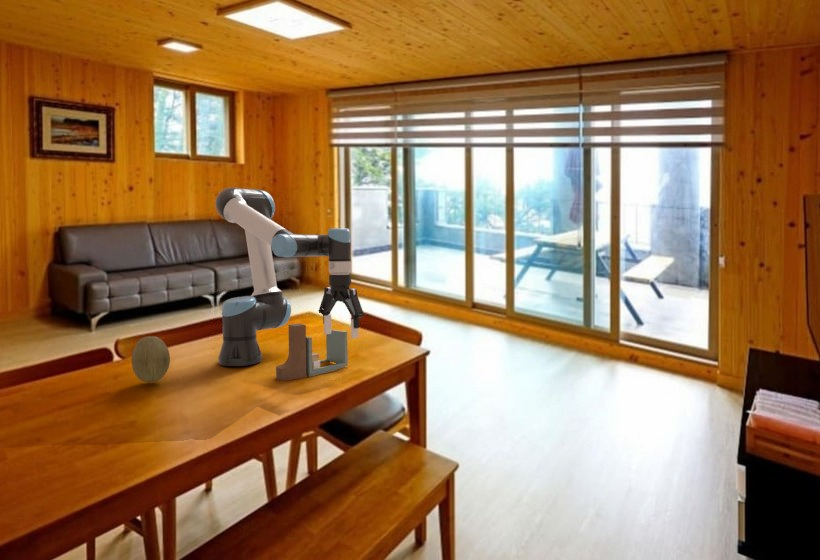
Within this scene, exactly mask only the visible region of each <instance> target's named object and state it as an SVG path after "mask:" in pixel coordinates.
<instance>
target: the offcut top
mask: <svg viewBox="0 0 820 560" xmlns="http://www.w3.org/2000/svg"><path fill="white" fill-rule="evenodd" d="M317 360H320V354H319V353H315V352H312V362H313V361H317Z"/></svg>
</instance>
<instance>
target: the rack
mask: <svg viewBox="0 0 820 560" xmlns="http://www.w3.org/2000/svg"><path fill="white" fill-rule="evenodd" d="M331 333H332V334H325V335H326V336H325V337H326V339H325V342H326V344H325V345H326V348H325V349H326V358H325V359H319V360H320V364H321V363H325V362H330V361H331V362H334V363H336V364H330V365H326V366H320V368H316V369H312V353H313V338H312V337H310V336H306V377H308V378H309V377H314V376H318V375H319V376H320V375H323V374H326V373H331V372H334V371H338V370H340V369H342V368H344V367H345V366H349V365H348V363H349V361H348V360H349V356H348V354H349V352H348V351H349V350H348V331H345V330H337V329H332V328H331Z"/></svg>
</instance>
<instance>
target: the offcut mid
mask: <svg viewBox="0 0 820 560" xmlns="http://www.w3.org/2000/svg"><path fill="white" fill-rule="evenodd" d="M320 360H321V359H319V360H317V361H313V362H312V368H313V369H315V368H319V367H321V363H320Z"/></svg>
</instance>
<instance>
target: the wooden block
mask: <svg viewBox="0 0 820 560" xmlns="http://www.w3.org/2000/svg"><path fill="white" fill-rule="evenodd" d="M306 337H307V326H306V324H303V323H292V324H288V356H287V359H286V361H284V363H283V364H280V365H276V366H275V371H276V372H275V376H276V377H275V378H276V380H278V381H280V382H285V381H290V380H295V379H296V380H298V379H303V378H307V376H306Z"/></svg>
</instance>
